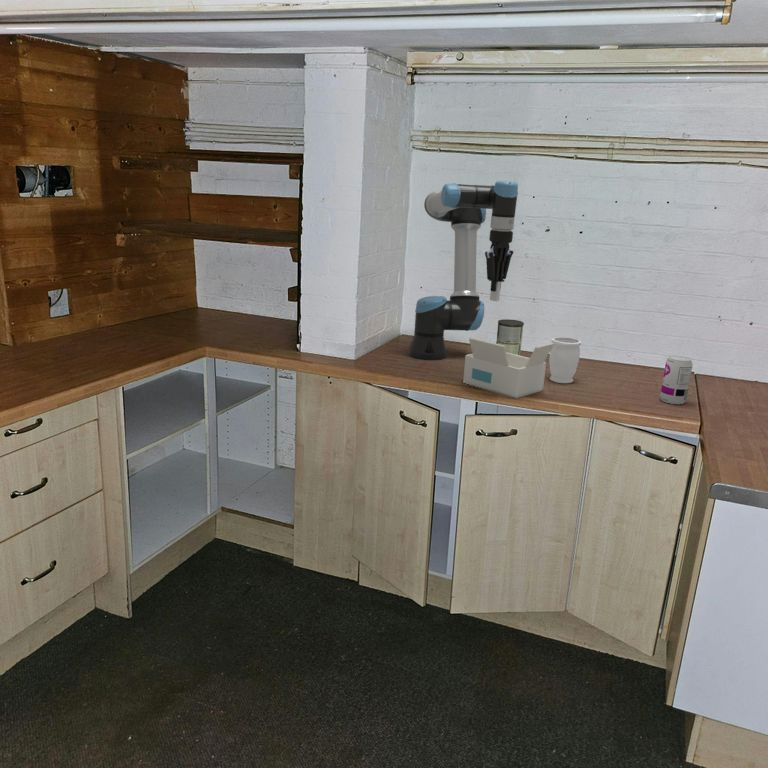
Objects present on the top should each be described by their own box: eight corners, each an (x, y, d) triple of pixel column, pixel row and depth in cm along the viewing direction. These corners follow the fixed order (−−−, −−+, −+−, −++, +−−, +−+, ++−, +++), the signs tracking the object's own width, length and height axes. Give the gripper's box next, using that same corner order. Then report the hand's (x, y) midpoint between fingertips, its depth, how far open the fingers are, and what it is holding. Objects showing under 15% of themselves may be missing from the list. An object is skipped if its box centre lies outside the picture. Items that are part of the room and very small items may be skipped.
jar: (554, 375, 259) (559, 335, 255) (580, 380, 253) (586, 340, 248) (541, 380, 251) (546, 339, 247) (568, 386, 245) (573, 344, 240)
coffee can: (490, 352, 288) (493, 319, 284) (512, 352, 291) (516, 319, 287) (502, 359, 278) (505, 324, 274) (524, 358, 282) (528, 324, 278)
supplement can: (659, 403, 231) (667, 359, 227) (659, 396, 238) (666, 354, 234) (685, 406, 228) (693, 362, 224) (685, 400, 236) (692, 357, 231)
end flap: (535, 346, 222) (537, 347, 221) (552, 342, 229) (553, 343, 228) (525, 366, 226) (526, 368, 226) (541, 362, 233) (543, 363, 233)
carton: (461, 383, 242) (464, 355, 239) (490, 375, 253) (492, 348, 251) (515, 399, 227) (519, 369, 224) (543, 390, 238) (547, 362, 236)
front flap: (474, 356, 236) (473, 357, 236) (470, 337, 231) (468, 338, 231) (509, 365, 226) (508, 366, 226) (504, 345, 222) (503, 346, 222)
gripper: (499, 231, 222) (491, 304, 230) (522, 230, 231) (514, 300, 238) (480, 229, 227) (473, 300, 235) (504, 228, 236) (496, 296, 243)
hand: (494, 300), depth 237 cm, fingers closed
